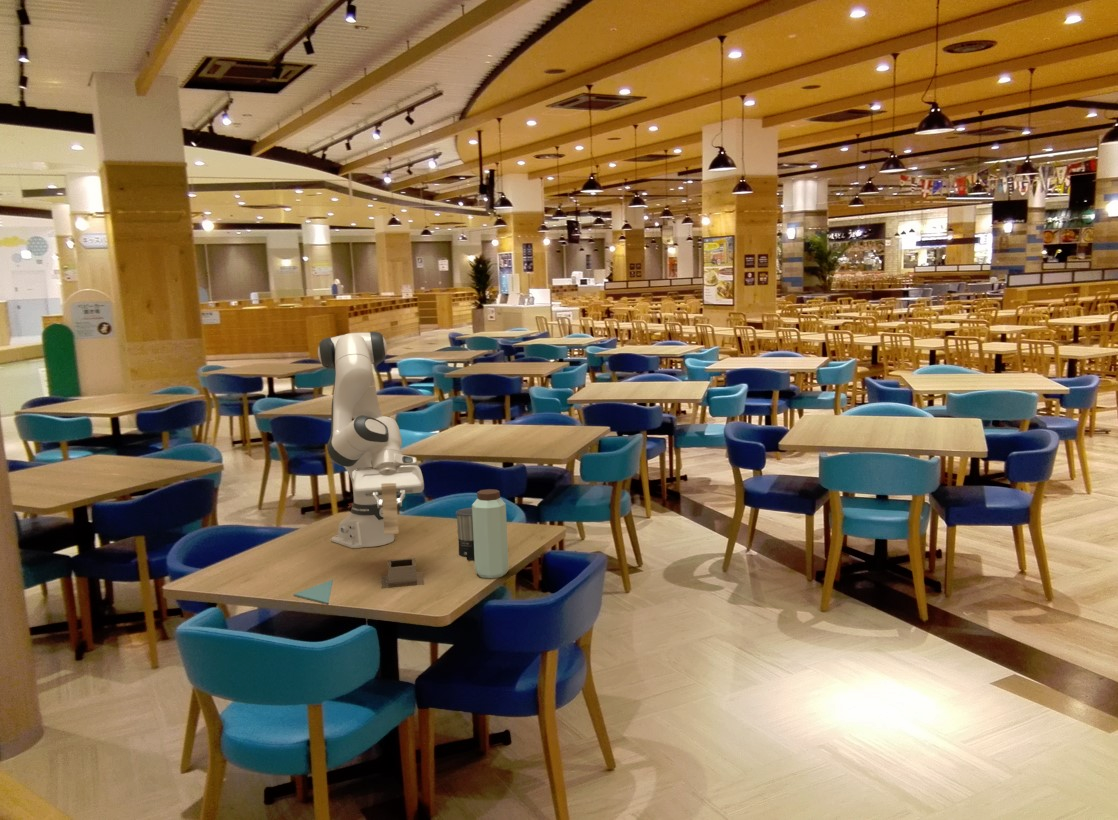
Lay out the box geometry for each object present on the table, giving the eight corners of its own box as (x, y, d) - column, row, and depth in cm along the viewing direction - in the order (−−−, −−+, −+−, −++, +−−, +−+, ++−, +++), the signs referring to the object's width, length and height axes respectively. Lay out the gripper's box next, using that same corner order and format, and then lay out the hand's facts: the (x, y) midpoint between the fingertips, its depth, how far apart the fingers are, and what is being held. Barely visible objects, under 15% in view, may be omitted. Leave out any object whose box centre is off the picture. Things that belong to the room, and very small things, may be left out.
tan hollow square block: (381, 578, 257) (380, 559, 257) (422, 574, 260) (421, 555, 259) (381, 591, 246) (380, 571, 245) (424, 587, 248) (423, 567, 247)
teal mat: (293, 595, 245) (293, 594, 245) (337, 579, 258) (337, 577, 258) (332, 605, 236) (332, 603, 236) (375, 588, 249) (375, 586, 249)
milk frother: (454, 560, 273) (452, 514, 271) (465, 546, 288) (463, 502, 286) (499, 560, 271) (497, 514, 269) (508, 546, 286) (506, 502, 284)
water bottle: (477, 569, 263) (473, 488, 260) (510, 568, 263) (506, 487, 260) (473, 579, 253) (469, 496, 250) (507, 579, 253) (503, 495, 250)
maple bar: (384, 531, 251) (381, 483, 250) (398, 529, 252) (395, 482, 250) (384, 534, 248) (381, 486, 246) (398, 533, 248) (395, 485, 246)
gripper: (350, 462, 252) (351, 503, 244) (421, 457, 256) (425, 497, 248) (352, 474, 257) (353, 514, 249) (422, 469, 261) (425, 508, 253)
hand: (389, 506), depth 248 cm, fingers closed on maple bar, 4 cm apart
